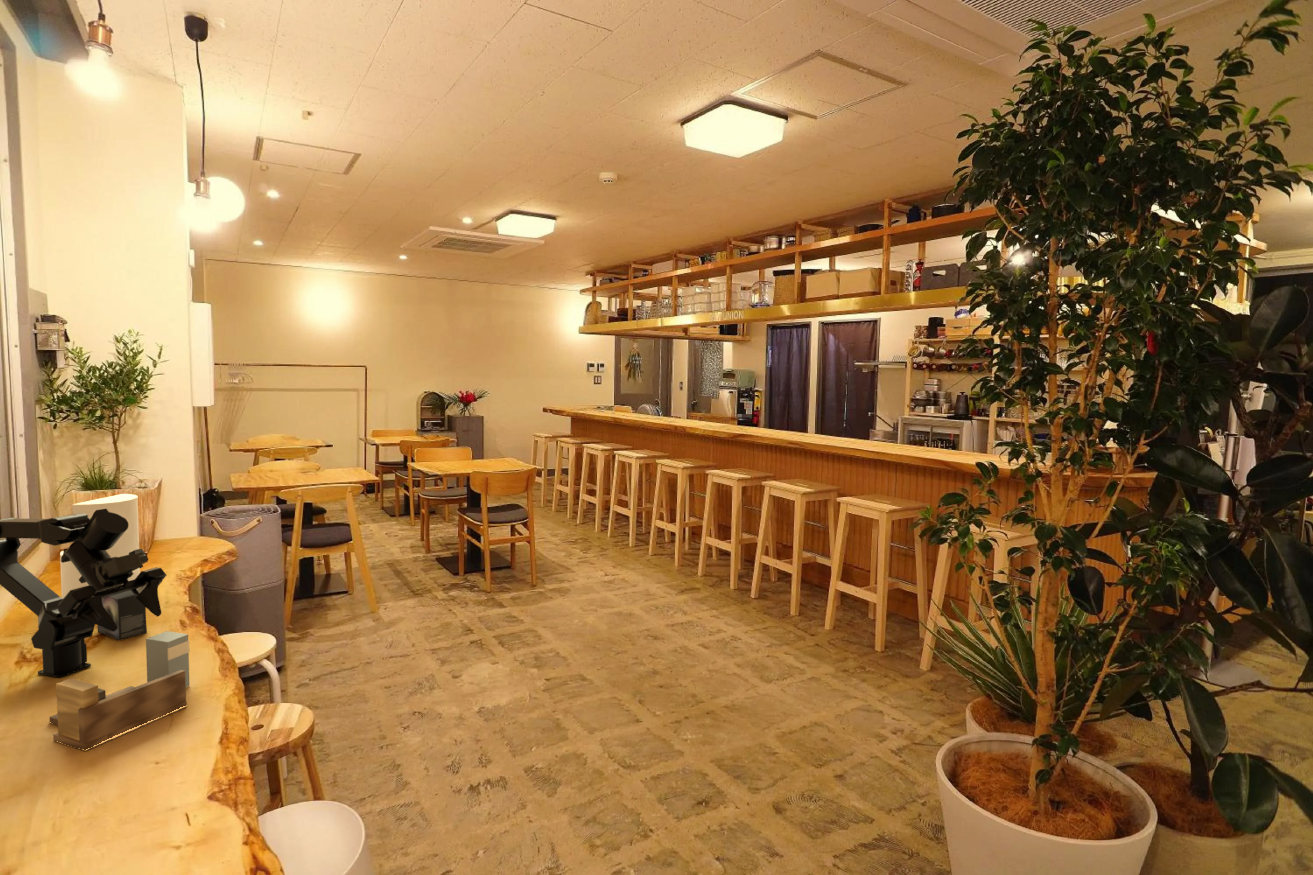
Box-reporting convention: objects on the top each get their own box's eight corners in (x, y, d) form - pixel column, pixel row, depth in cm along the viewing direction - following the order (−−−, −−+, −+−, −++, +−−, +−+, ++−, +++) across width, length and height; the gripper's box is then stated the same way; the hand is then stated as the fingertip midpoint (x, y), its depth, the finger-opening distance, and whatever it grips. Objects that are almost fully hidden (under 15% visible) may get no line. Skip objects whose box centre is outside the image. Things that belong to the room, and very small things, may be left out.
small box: (94, 632, 170) (93, 590, 169) (125, 624, 176) (123, 583, 175) (117, 641, 165) (116, 598, 164) (148, 632, 171) (147, 591, 170)
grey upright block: (169, 695, 139) (168, 642, 138) (147, 691, 140) (145, 638, 139) (190, 686, 143) (189, 634, 142) (168, 682, 144) (167, 630, 143)
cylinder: (155, 589, 204) (152, 494, 201) (108, 608, 186) (104, 505, 184) (97, 587, 204) (93, 492, 202) (44, 606, 187) (40, 503, 184)
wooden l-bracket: (85, 751, 118) (82, 693, 117) (26, 731, 123) (24, 676, 123) (186, 707, 134) (185, 655, 133) (131, 691, 140) (129, 642, 139)
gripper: (66, 549, 133) (112, 612, 131) (158, 530, 151) (200, 585, 149) (37, 586, 136) (82, 648, 134) (131, 562, 154) (172, 616, 152)
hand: (138, 622), depth 142 cm, fingers open, 9 cm apart
